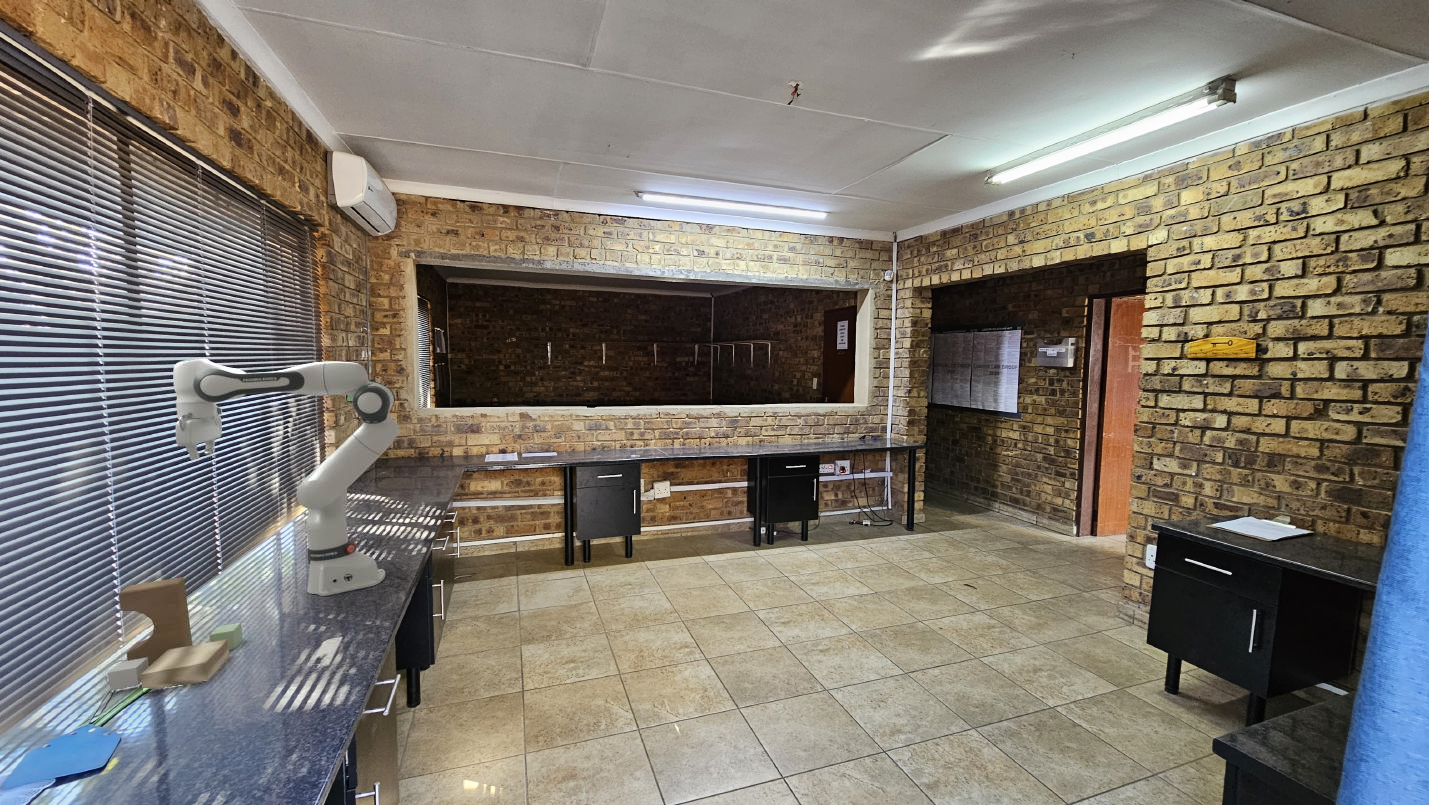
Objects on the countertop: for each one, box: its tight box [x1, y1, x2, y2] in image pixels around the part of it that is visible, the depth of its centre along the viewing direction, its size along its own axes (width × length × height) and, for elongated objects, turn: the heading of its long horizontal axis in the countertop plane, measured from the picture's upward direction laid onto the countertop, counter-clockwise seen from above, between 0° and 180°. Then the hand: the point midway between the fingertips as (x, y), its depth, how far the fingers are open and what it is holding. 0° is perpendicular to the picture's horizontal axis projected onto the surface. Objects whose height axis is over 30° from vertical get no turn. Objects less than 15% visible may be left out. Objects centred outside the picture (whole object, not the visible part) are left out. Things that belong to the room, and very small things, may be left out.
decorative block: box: [118, 576, 193, 665], centre depth 146 cm, size 11×6×20 cm, turn 115°
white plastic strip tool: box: [313, 636, 343, 668], centre depth 147 cm, size 5×15×1 cm, turn 22°
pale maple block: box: [141, 639, 230, 690], centre depth 139 cm, size 12×12×5 cm
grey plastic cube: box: [107, 657, 149, 692], centre depth 136 cm, size 5×5×5 cm
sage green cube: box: [209, 622, 244, 651], centre depth 153 cm, size 5×5×5 cm
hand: (202, 456), depth 176 cm, fingers open, 8 cm apart
